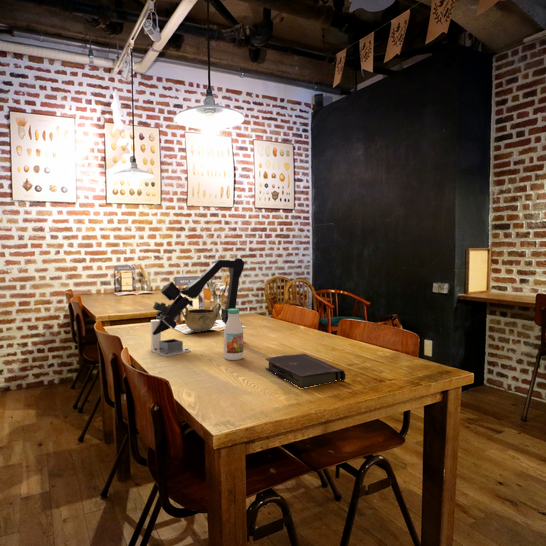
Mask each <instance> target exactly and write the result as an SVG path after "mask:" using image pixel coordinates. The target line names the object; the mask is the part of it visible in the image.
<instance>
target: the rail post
mask: <svg viewBox="0 0 546 546" xmlns="http://www.w3.org/2000/svg"><path fill="white" fill-rule="evenodd" d="M159 323H160V320H157V319H151V320H150V348H151V350H152V349H154V348H159V341H162V339H161V337H162V335H161V333H162V332H160V333H158V334H156V335H153V332H154V331H155V329H156V328H157V326H158V325H159Z"/></svg>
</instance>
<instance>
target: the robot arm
mask: <svg viewBox="0 0 546 546" xmlns="http://www.w3.org/2000/svg"><path fill="white" fill-rule="evenodd" d="M244 267H245V262H244V260H243V258H240V257H237V258H236V257H232V258H231V259H218V258H217V259H216V260H215V261H213V263H212V264H211V265H210V266H209V267H208V268H207V269H206V270H205V271H204V272H203V273H202V274H201V275H200V276H199V277H198V278H197V279H195V280H193V281H191V282H190V283H189V284H188V285H186V286H185V287H183V288H178V286H177V285H176V284H175V282H173V281H170V282H169V283H168V284H166V285H164V286H163V288H162V289H161V290H160V293H161V294H162V295H163V296H164V297H165V298H166V299H167V300H168V301H173V302H172V303H171V304H168V305H166V302H165V303H164V302H157V301H154V305H153V306H152V309H153V310H155V311H156V312H155V315H156V316H155V317H156V320H160V323H159V325H158V326H157V328H156V329H155V331H154V332H153V335H156V334H158V333H160V332H161V333H162V332H165V331H167V330H169V329H171V328H172V330H174V329H175V328H176V327H177V323H178V322H176V318H177V317H178V316H181V315H182V314H181V312H182V311H183V312H184V310H185V307H186V306H187V307H188V306H189V307H193V306H194V304H193V303H194V301H193V300H192V299H196V298H198V297H199V296H200V295H201V293H202V291H203V289H204V287H205V285H206V284H207V283H208V282H210V280H211V279H212V278H213V277H215V275H216V274H217V273H219V272H220V270H221V269H222V268H223V269H225V268H226V269H228V272H229V273H228V274H229V280H228V281H229V283H228V288H227V289H228V290H227V298H226V305H225V307H224V308H222V307H221V309H220V310H221V314H220V317H221V320H222V322H223V323H224V326H225V325H226V323H227V320H228V309H237V299H238V291H239V283H240V277H241V276H242V273H243V272H244V271H243V270H244ZM189 298H190V299H191V300H190V299H189ZM241 324H242V325H243V323H242V322H241Z"/></svg>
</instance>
